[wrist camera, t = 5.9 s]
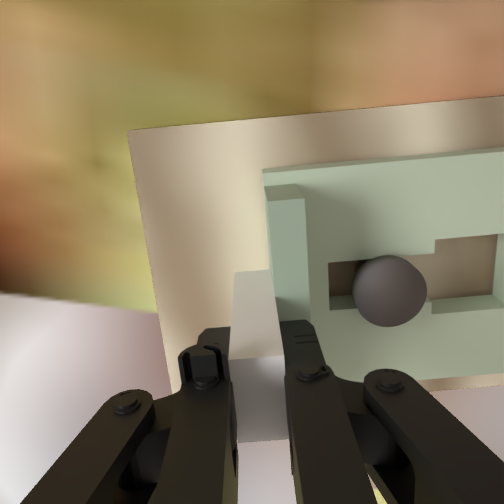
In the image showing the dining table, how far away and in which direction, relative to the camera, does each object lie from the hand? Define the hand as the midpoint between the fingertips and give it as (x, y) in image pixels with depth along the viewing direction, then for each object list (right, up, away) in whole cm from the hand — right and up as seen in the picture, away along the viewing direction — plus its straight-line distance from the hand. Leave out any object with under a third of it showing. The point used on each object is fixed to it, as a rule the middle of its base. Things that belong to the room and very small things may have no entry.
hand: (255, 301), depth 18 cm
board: (+10, +2, +3) cm, 10 cm away
